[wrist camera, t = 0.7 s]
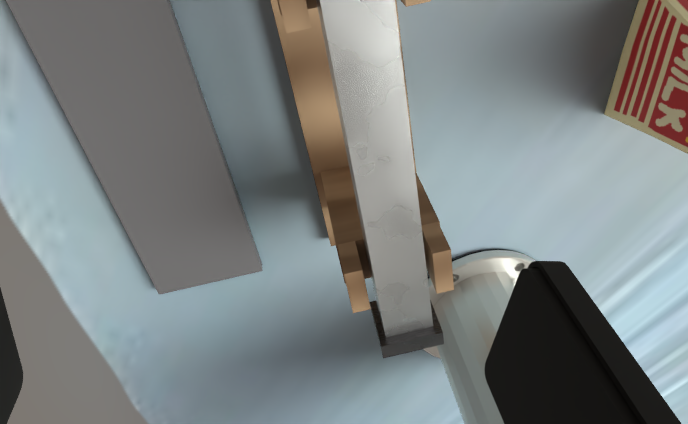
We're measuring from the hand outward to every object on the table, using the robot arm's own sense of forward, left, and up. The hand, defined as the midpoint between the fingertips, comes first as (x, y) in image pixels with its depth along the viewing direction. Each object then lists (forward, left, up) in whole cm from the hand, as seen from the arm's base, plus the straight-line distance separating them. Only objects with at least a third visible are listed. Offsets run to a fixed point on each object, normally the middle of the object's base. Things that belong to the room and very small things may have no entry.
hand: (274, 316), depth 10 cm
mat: (-2, +11, -26) cm, 28 cm away
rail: (-7, -1, -17) cm, 19 cm away
